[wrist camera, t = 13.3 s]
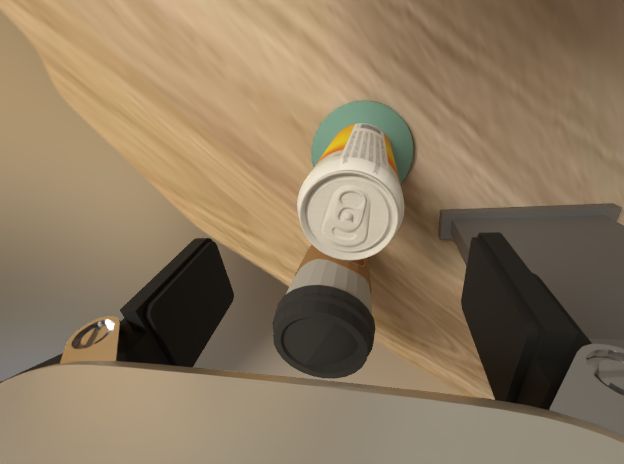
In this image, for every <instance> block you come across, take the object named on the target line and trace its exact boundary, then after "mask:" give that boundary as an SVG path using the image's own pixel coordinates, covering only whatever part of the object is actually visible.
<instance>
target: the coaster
mask: <svg viewBox="0 0 624 464" xmlns="http://www.w3.org/2000/svg"><path fill="white" fill-rule="evenodd" d="M358 123H365V124H370V125H373V126H375V127H377V128H379V129H380V130H381V131H382V132H384V134H385V135H386V136H387V138H388V139H389V141H390V144H391V147H392V152H393V156H394V160H395V164H396V168H397V173H398V177H399V181H400V184H401V183H402V182H403V180H404V179H405V177H406V176H407V174H408V172H409V169H410V167H411V164H412V160H413V141H412V136H411V133H410V131H409V129H408V126H407V125H406V123H405V122H404V120H403V119H402V118H401V117H400V115H399V114H398V113H396V112H395V111H394V110H393V109H391V108H389V107H388V106H386V105H383V104H381V103H378V102H373V101H356V102H351V103H349V104H346V105H343V106H341V107H339V108H338V109H336V110H335V111H333V112H332V113H331V114H330V115H329V116H328V117H327V118H326V119H325V120H324V121H323V122H322V124H321V125H320V127H319V128H318V130H317V132H316V135H315V137H314V141H313V145H312V162H313V167H315V165H316V164H317V162H318V161H319V159H320V158H321V157H322V155H323V154H324V152H325V151H326V149H327V148H328V146H329V145H330V143H331V142H332V141H333V139H334V138H335V136H336V135H337V134H338V133H339V132H340V131H341V130H343V129H344V128H346V127H348V126H350V125H353V124H358Z"/></svg>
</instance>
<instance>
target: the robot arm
mask: <svg viewBox="0 0 624 464" xmlns="http://www.w3.org/2000/svg"><path fill="white" fill-rule="evenodd" d="M233 298H234V293H233V290H232V287H231V284H230V281H229V278H228V276H227V273H226V270H225V267H224V265H223V261H222V258H221V256H220V253H219V250H218V247H217V245H216V243H215V242H213V241H212V240H211V239H209V238H199V239H198V238H197V239H194V240H193V241H192V242H191V243H190V244H189V245H188V246H187V247H186V248H184V249H183V250H182V251H181V252H180V253H179V254H178V255H177V256H176V257H175V258H174V259H173V260H172V261H171V262H170V263H169V264H168V265H167V266H166V267H165V268H164V269H162V270H161V271H160V272H159V273H158V274H157V275H156V276H155V277H154V278H153V279H152V280H151V281H150V282H149V283H148V284H147V285H146V286H145V287H143V288H142V289H141V290H140V291H139V292H138V293H137V294H136V295H135V296H134V297H133V298H132V299H131V300H130V301H129V302H128V303H127V304H126V305H125V306H124V307H122V308H121V309H120V311H121V313H122V314H123V316H124V319H123V320H122V321H121V322H120V320H119V319H118V318H117V317H114V316H109V317H103V318H99V319H96V320H94V321H92V322H90V323H88V324H86V325H85V326H83V327H82V328H80V329H79V330H78V331H77V332H75V333H74V334H73V335H72V336H71V338H70V339H69V340H68V342H67V344H66V346H65V349H64V352H63V353H62V354H60V355H58V356H56V357H54V358H52V359H49V360H47V361H45V362H43V363H41V364H38V365H36V366H34V367H32V368H30V369H28V370H25V371H23V372H21V373H19V374H17V375H15V376H12V377H10V378H8V379H6V380H4V381H1V382H0V464H624V349H622V348H620V347H617V346H612V345H606V344H592V343H591V341H590V340H589V339H588V338H587V336H586V335H585V334H584V333H583V331H582V330H581V329H580V328H579V326H578V325H577V324H576V323H575V321H574V320H573V319H572V317H571V316H570V315H569V314H568V312H567V311H566V310H565V309H564V307H563V306H562V305H561V304H560V302H559V301H558V300H557V299H556V297H555V296H554V295H553V294H552V292H551V291H550V290H549V288H548V287H547V286H546V285H545V283H544V282H543V281H542V280H541V278H540V277H539V276H538V275H537V274H534V273H532V272H531V271H530V270H529V268H528V267H527V266H526V264H525V263H524V262H523V261H522V259H521V258H520V257H519V255H518V254H517V253H516V252H515V250H514V249H513V248H512V246H511V245H510V244H509V242H508V241H507V240H506V239H505V237H504V236H503V235H502V234H501V233H500V232H488V233H479V234H478V236H477V237H473V238H472V239H471V243H470V249H469V256H468V262H467V268H466V274H465V280H464V286H463V293H462V299H461V304H462V310H463V313H464V315H465V318H466V321H467V324H468V326H469V329H470V332H471V335H472V337H473V340H474V343H475V345H476V348H477V351H478V354H479V356H480V359H481V362H482V365H483V367H484V370H485V373H486V375H487V378H488V381H489V384H490V386H491V389H492V392H493V395H494V397H495V400H492V399H485V398H477V397H469V396H461V395H452V394H444V393H436V392H428V391H420V390H409V389H400V388H392V387H382V386H372V385H362V384H353V383H343V382H335V381H325V380H315V379H305V378H296V377H285V376H276V375H265V374H255V373H245V372H235V371H224V370H214V369H204V368H193V366H194V364H195V362H196V361H197V359H198V357H199V356H200V354H201V352H202V351H203V349H204V348H205V346H206V344H207V342H208V341H209V339H210V338H211V335H212V334H213V333H214V331H215V329H216V328H217V326H218V325H219V323H220V321H221V320H222V318H223V316H224V315H225V313H226V311H227V310H228V308H229V306H230V305H231V303H232V301H233Z"/></svg>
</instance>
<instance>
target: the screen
mask: <svg viewBox="0 0 624 464" xmlns="http://www.w3.org/2000/svg"><path fill="white" fill-rule="evenodd" d="M621 209H622V208H621V207H619V206H617V205H615V204H590V205H563V206H536V207H509V208H482V209H455V210H440V221H439V232H438V235H439V238H440V239H454V241H455V243H456V245H457V247H458V249H459V251H460V253H461V255H462V257H463V259H464V261H465V264H466V266H467V262H468V256H469V249H470V243H471V239H472V238H473V237H477V236H478V234H479V233H488V232H500V233H501V234H502V235H503V236H504V237H505V239H506V240H507V241H508V242H509V244H510V245H511V246H512V248H513V249H514V250H515V252H516V253H517V254H518V255H519V257H520V258H521V259H522V261H523V262H524V263H525V264H526V266H527V267H528V268H529V270H530V271H531V272H532V273H534V274H537V275H538V276H539V277H540V278H541V280H542V281H543V282H544V283H545V285H546V286H547V287H548V288H549V290H550V291H551V292H552V294H553V295H554V296H555V297H556V299H557V300H558V301H559V302H560V304H561V305H562V306H563V307H564V309H565V310H566V311H567V312H568V314H569V315H570V316H571V317H572V319H573V320H574V321H575V323H576V324H577V325H578V326H579V328H580V329H581V330H582V331H583V333H584V334H585V335H586V336H587V338H588V339H589V340H590V341H591V343H592V344H606V345H612V346H617V347H620V348H622V349H624V226H623V225H621V224H619V223H618V222H616V221H617V218H618V216H619V213H620V211H621Z"/></svg>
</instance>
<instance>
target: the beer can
mask: <svg viewBox="0 0 624 464" xmlns="http://www.w3.org/2000/svg"><path fill="white" fill-rule="evenodd" d="M404 209H405V206H404V198H403V194H402V189H401V185H400V181H399V177H398V173H397V168H396V164H395V160H394V156H393V152H392V147H391V144H390V141H389V139H388V138H387V136H386V135H385V134H384V132H382V131H381V130H380V129H379V128H377V127H375V126H373V125H370V124H365V123H358V124H353V125H350V126H348V127H346V128H344V129H343V130H341V131H340V132H339V133H338V134H337V135H336V136H335V138H334V139H333V141H332V142H331V143H330V145H329V146H328V148H327V149H326V151H325V152H324V154H323V155H322V157H321V158H320V159H319V161H318V162H317V164H316V165H315V167H314V168H313V170H312V171H311V172H310V174H309V175H308V177H307V178H306V180H305V181H304V183H303V185H302V187H301V189H300V192H299V195H298V202H297V210H298V216H299V220H300V223H301V227H302V230H303V232H304V234H305V236H306V237H307V239H308V240H309V241H310V243H311V244H312V245H313V246H314V247H315V248H317V249H318V250H319V251H321V252H322V253H324V254H326V255H328V256H330V257H333V258H336V259H341V260H360V259H365V258H368V257H370V256H373V255H375V254H376V253H378V252H380V251H381V250H382V249H384V248H385V247H386V246H387V245H388V243H389V242H390V241H391V239H392V238H393V237H394V236H395V235H396V233H397V232H398V230H399V228H400V226H401V224H402V221H403V217H404Z"/></svg>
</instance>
